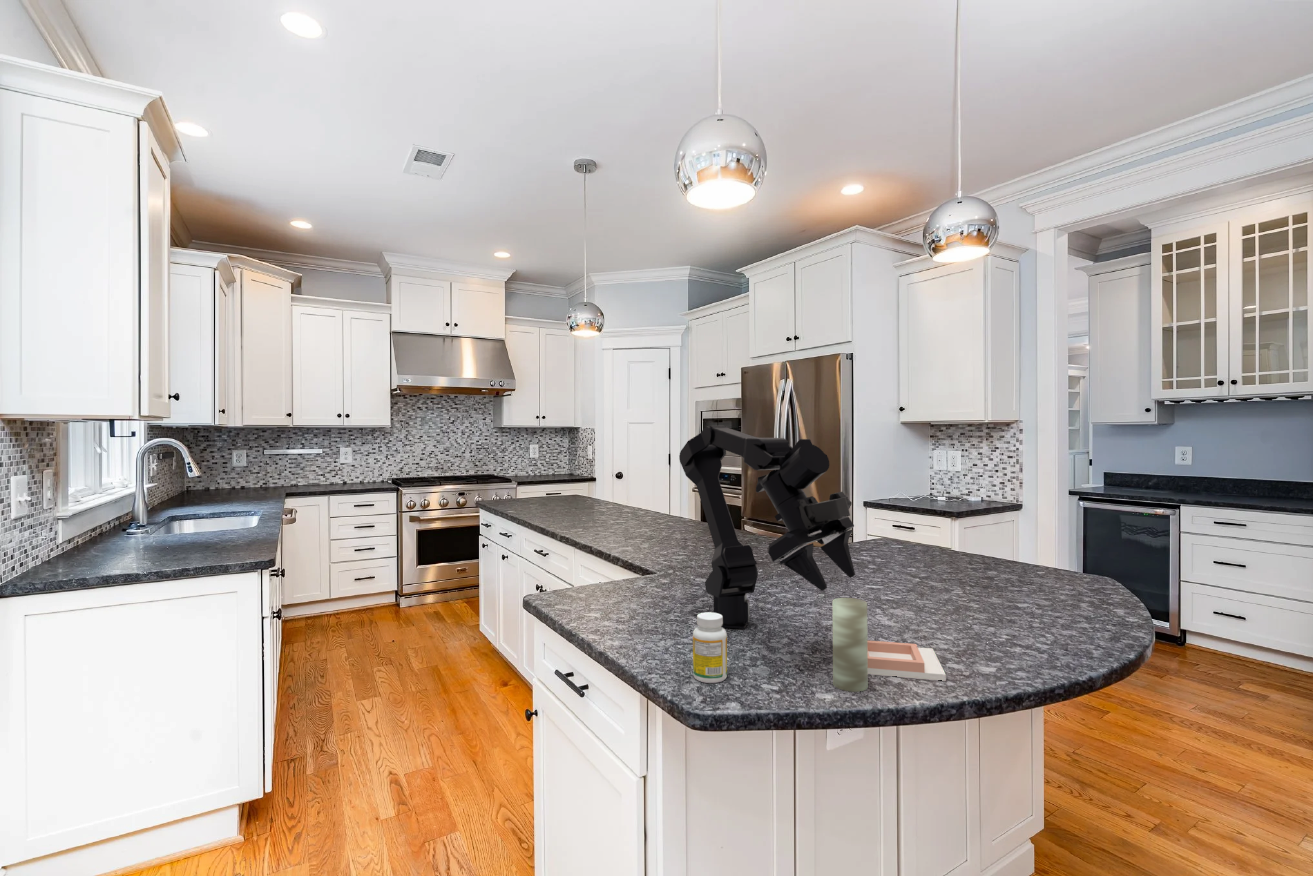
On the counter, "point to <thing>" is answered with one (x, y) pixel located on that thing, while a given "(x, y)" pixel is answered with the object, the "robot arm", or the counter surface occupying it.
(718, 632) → the supplement bottle
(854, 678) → the post
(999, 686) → the counter surface
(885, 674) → the board
